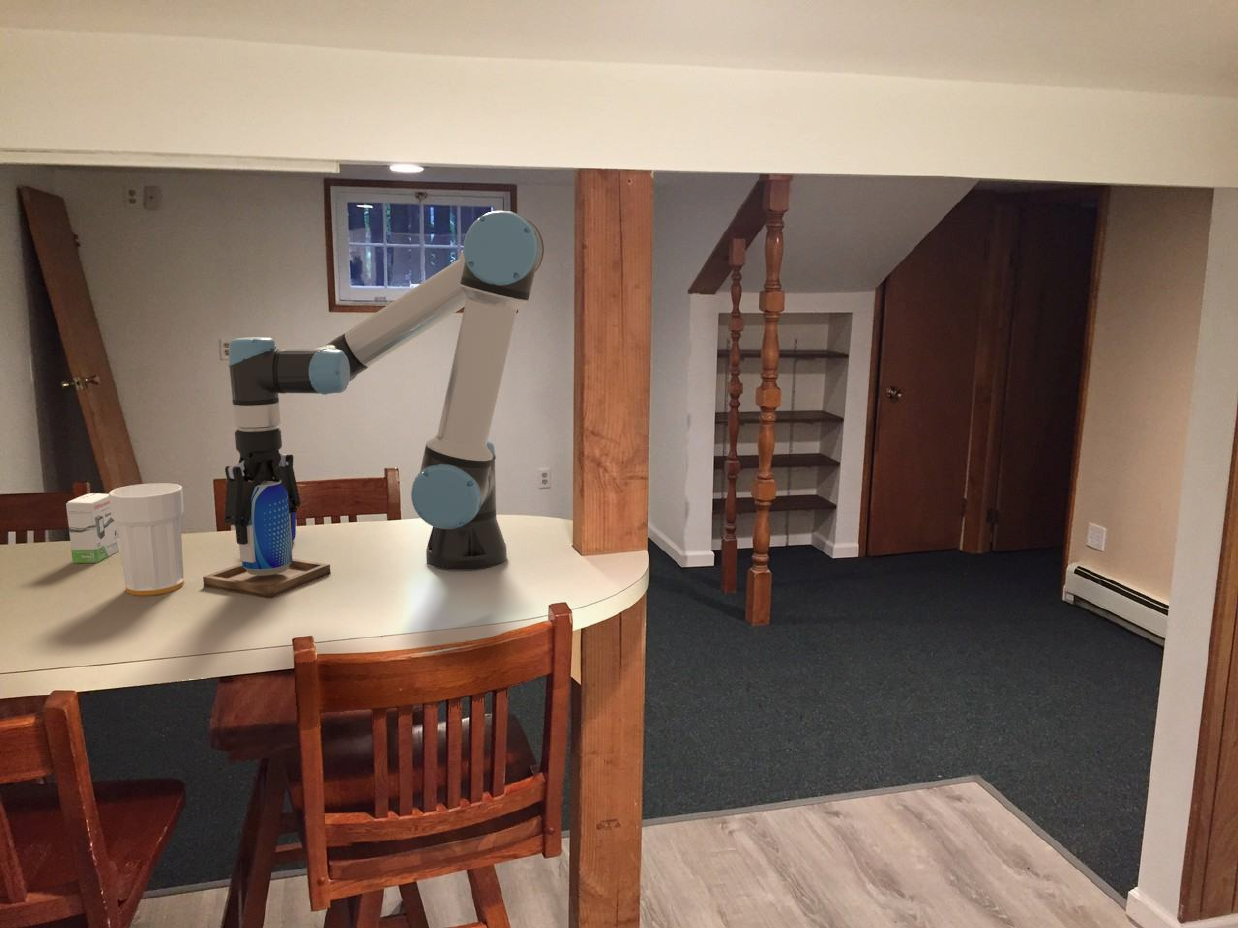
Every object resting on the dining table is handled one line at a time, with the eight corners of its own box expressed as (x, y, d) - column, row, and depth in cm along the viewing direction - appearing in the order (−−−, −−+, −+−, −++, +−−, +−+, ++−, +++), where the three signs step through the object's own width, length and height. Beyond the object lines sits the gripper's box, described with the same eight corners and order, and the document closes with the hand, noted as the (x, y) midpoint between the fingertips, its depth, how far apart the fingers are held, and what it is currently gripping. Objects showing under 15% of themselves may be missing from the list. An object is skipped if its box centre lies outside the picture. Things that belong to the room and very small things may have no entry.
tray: (330, 573, 177) (329, 564, 177) (269, 598, 164) (269, 588, 163) (267, 563, 183) (266, 554, 183) (203, 586, 170) (203, 576, 170)
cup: (107, 588, 169) (97, 490, 166) (171, 573, 177) (163, 480, 174) (137, 602, 162) (127, 500, 158) (202, 586, 170) (194, 488, 167)
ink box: (97, 563, 184) (90, 502, 182) (71, 563, 184) (64, 502, 182) (120, 550, 192) (114, 492, 190) (95, 550, 192) (89, 492, 190)
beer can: (271, 579, 168) (264, 488, 165) (232, 574, 171) (224, 484, 168) (302, 565, 176) (297, 478, 173) (264, 561, 179) (258, 475, 175)
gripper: (284, 418, 179) (293, 537, 184) (192, 435, 160) (204, 568, 165) (316, 420, 176) (324, 542, 181) (226, 438, 157) (237, 573, 162)
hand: (267, 554), depth 173 cm, fingers closed on beer can, 8 cm apart
